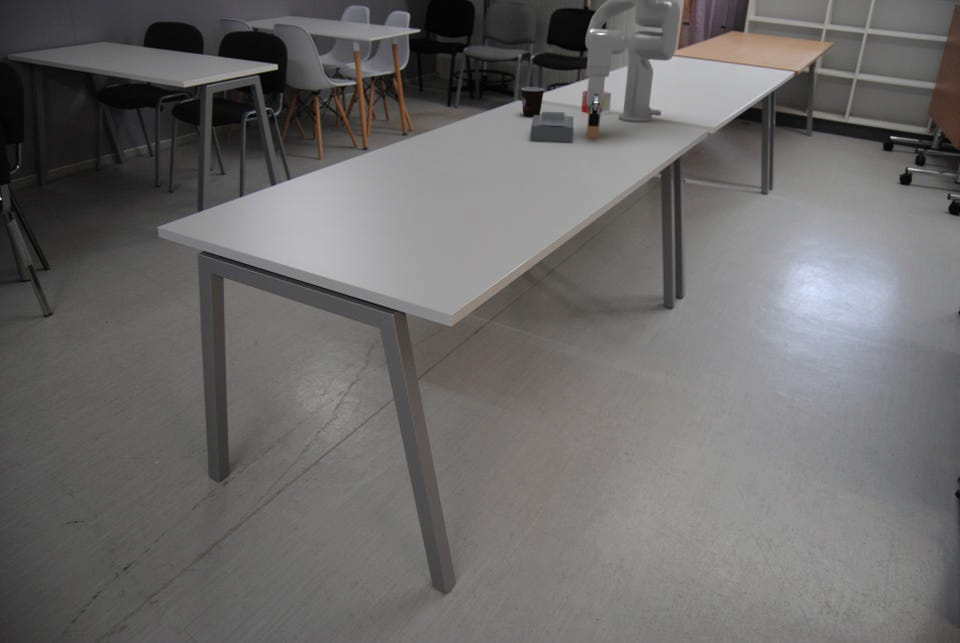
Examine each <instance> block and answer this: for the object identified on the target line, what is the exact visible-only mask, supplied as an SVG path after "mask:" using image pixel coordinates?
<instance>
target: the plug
mask: <svg viewBox="0 0 960 643" xmlns="http://www.w3.org/2000/svg"><path fill="white" fill-rule="evenodd" d="M601 112H602V106H601V107H600V108H599V123H598V126H589V116H590V114H591V106H589V107H588V113H587V115H588V116H587V125H586V126H587V128H586V138H587V139H599V135H600V126H601V115H602V114H601Z"/></svg>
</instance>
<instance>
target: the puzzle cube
mask: <svg viewBox="0 0 960 643" xmlns="http://www.w3.org/2000/svg"><path fill="white" fill-rule="evenodd" d="M587 91H588V90H583V91H582V98H581V99H582V100H581V111H583V112H582V113H585V112H586V113H585V114H588V107H587V104H586V102H587ZM611 98H612V92H609V91H605V90H604V92H603V99H602V104H601V106H602V112H601V115H604V114H603V113H606V111H609V112H610V111H611V110H610V108H611V100H612V99H611Z"/></svg>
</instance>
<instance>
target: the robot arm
mask: <svg viewBox="0 0 960 643" xmlns="http://www.w3.org/2000/svg"><path fill="white" fill-rule="evenodd" d="M634 7H635V10H634V22H635V24H636V25H637V26H639V27H644V28H645V27H646V28H654V29H661V30H662V32H661V31H652V30H651V31H650V30H649V31H648V30H637V31H633V32H632V34H630V35H629V37H628V34H627V32H625V31H623V30H619V29H607V28H606V29H605V28H603V25H604V24H605V23H606V22H607V21H609V20H610V19H611V18H613V17H615V16H619V15H620V14H623V13H624V12H628V11H630V10H631V9H633V8H634ZM680 16H681V9H680V5H679V2H678V1H675V0H606V1H605V2H604V3H603V4H602V5H600V6H599V8H598V9H597V10H596V11H595V12H594V14H592V17H591V19H590V22H589V24H588V28H587V31H586V35H585V38H584V39H585V41H584V42H585V43H584V44H585V47H586V49H587V63H586V76H587V77H588V82H587V90H586V91H587V102H586V104H587V107H589V106H591V114H590V116H589V126H598V123H599V108H600V107H601V104H602V99H603V92H604V91H605V83H606V82H605V81H606V78H608V77H609V76H610V68H611V58H612V57H611V56H612V55H620V54H622V53H624V52H625V51H626V49H627V58H628V59H627V72H626V82H625V83H626V84H625V90H624V91H625V93H624V102H623V112H622V113H619V115H618V119H619V120H622V121H627V122H635V123H645V122H650V121H652V120H653V116H662V110H661V109H654V108H651V106H650V103H651V102H650V101H651V93H652V86H653V77H654V68H653V66H652V64H651V62H650V60H653V61H670V60H671V59H672V58H673V56H674V55H675V53H676V48H677V42H678V41H677V40H678V33H679V26H680V18H681V17H680Z"/></svg>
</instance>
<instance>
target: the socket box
mask: <svg viewBox="0 0 960 643" xmlns="http://www.w3.org/2000/svg"><path fill="white" fill-rule="evenodd" d="M541 120H542V113H540V115H534V117H533V118H532V121H531V126H530V127H531V128H530V142H546V141H551V143H553V142H554V143H570V142H572V143H573V138H574V116H568V115H567V114H564V126H549V125H541Z"/></svg>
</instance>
